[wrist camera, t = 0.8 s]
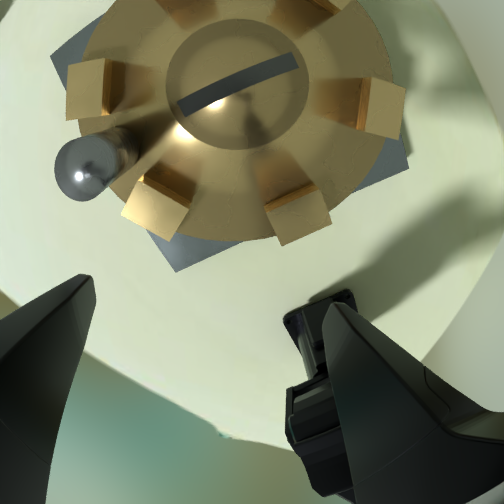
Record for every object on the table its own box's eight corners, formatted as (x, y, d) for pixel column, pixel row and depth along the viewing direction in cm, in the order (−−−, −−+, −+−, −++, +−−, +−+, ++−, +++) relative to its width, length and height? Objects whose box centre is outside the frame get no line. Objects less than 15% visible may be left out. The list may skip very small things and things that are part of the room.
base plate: (398, 163, 18) (410, 169, 17) (178, 261, 21) (175, 274, 19) (301, -53, 10) (307, -63, 8) (61, 57, 12) (48, 56, 11)
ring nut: (300, -52, 9) (337, -108, 3) (397, 161, 16) (467, 197, 10) (63, 56, 11) (-10, 48, 5) (179, 258, 19) (162, 333, 13)
